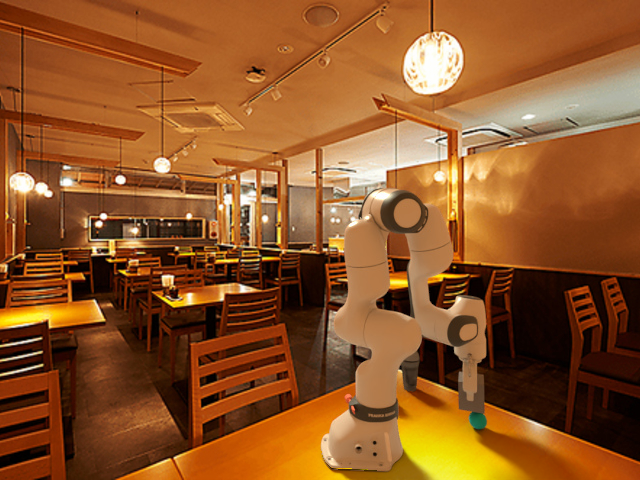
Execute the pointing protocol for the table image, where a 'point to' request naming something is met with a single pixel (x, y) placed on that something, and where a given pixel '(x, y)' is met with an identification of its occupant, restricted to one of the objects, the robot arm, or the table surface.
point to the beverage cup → (410, 371)
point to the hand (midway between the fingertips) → (470, 392)
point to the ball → (477, 420)
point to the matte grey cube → (478, 401)
